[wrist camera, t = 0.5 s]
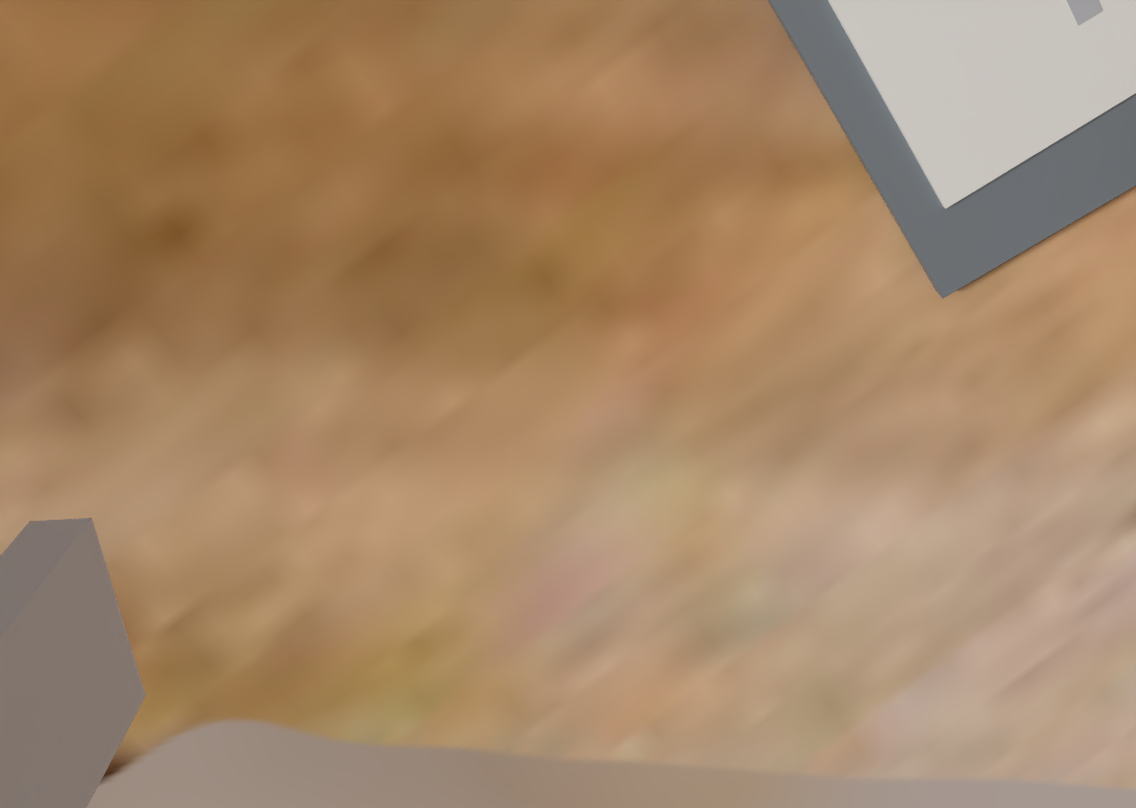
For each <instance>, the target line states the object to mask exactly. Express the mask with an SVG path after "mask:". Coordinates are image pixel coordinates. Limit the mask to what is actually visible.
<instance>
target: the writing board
mask: <svg viewBox="0 0 1136 808" xmlns="http://www.w3.org/2000/svg"><path fill="white" fill-rule="evenodd" d="M768 1H769V3H770V4H771V6H772V8H773V10H774V11H775V13H776V15H777V17H778V18H779V20H780V22H781V23H782V25H783V27H784V29H785V30H786V32H787V34H788V36H789V37H790V39H791V41H792V42H793V44H794V46H795V48H796V49H797V51H798V53H799V55H800V56H801V58H802V60H803V61H804V63H805V65H806V67H807V68H808V70H809V72H810V74H811V75H812V77H813V79H814V80H815V82H816V84H817V86H818V87H819V89H820V91H821V93H822V94H823V96H824V98H825V99H826V101H827V103H828V105H829V106H830V108H831V110H832V112H833V113H834V115H835V117H836V118H837V120H838V122H839V124H840V125H841V127H842V129H843V131H844V132H845V134H846V136H847V137H848V139H849V141H850V143H851V144H852V146H853V148H854V150H855V151H856V153H857V155H858V156H859V158H860V160H861V162H862V163H863V165H864V167H865V169H866V170H867V172H868V174H869V175H870V177H871V179H872V181H873V182H874V184H875V186H876V187H877V189H878V191H879V193H880V194H881V196H882V198H883V200H884V201H885V203H886V205H887V206H888V208H889V210H890V212H891V213H892V215H893V217H894V219H895V220H896V222H897V224H898V225H899V227H900V229H901V231H902V232H903V234H904V236H905V238H906V239H907V241H908V243H909V244H910V246H911V248H912V250H913V251H914V253H915V255H916V257H917V258H918V260H919V262H920V263H921V265H922V267H923V269H924V270H925V272H926V274H927V276H928V277H929V279H930V281H931V282H932V284H933V286H934V288H935V289H936V291H937V292H938V293H939V295H940V296H941V297H942V298H944V297H946V296H948V295H950V294H951V293H953V292H955V291H956V290H958V289H960V288H962V287H963V286H965V285H967V284H968V283H970V282H972V281H973V280H975V279H977V278H979V277H980V276H982V275H984V274H985V273H987V272H989V271H991V270H992V269H994V268H996V267H997V266H999V265H1001V264H1003V263H1004V262H1006V261H1008V260H1009V259H1011V258H1013V257H1014V256H1016V255H1018V254H1020V253H1021V252H1023V251H1025V250H1026V249H1028V248H1030V247H1032V246H1033V245H1035V244H1037V243H1038V242H1040V241H1042V240H1044V239H1045V238H1047V237H1049V236H1050V235H1052V234H1054V233H1055V232H1057V231H1059V230H1061V229H1062V228H1064V227H1066V226H1067V225H1069V224H1071V223H1073V222H1074V221H1076V220H1078V219H1079V218H1081V217H1083V216H1085V215H1086V214H1088V213H1090V212H1091V211H1093V210H1095V209H1096V208H1098V207H1100V206H1102V205H1103V204H1105V203H1107V202H1108V201H1110V200H1112V199H1114V198H1115V197H1117V196H1119V195H1120V194H1122V193H1124V192H1125V191H1127V190H1129V189H1131V188H1132V187H1134V186H1136V0H768Z"/></svg>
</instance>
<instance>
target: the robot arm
mask: <svg viewBox="0 0 1136 808" xmlns="http://www.w3.org/2000/svg"><path fill="white" fill-rule="evenodd" d="M145 696H146V695H145V692H144V688H143V685H142V682H141V678H140V675H139V672H138V669H137V665H136V662H135V659H134V655H133V652H132V649H131V646H130V642H129V639H128V636H127V632H126V629H125V626H124V623H123V619H122V616H121V613H120V609H119V606H118V603H117V600H116V596H115V593H114V590H113V586H112V583H111V580H110V577H109V573H108V570H107V567H106V563H105V560H104V557H103V554H102V550H101V547H100V544H99V540H98V537H97V534H96V531H95V527H94V524H93V521H92V518H84V519H65V520H47V521H30V522H29V523H28V524H27V525H26V527H25V528H24V529H23V530H22V531H21V532H20V534H19V535H18V536H17V537H16V538H15V539H14V541H13V542H12V543H11V544H10V545H9V547H8V548H7V549H6V550H5V551H4V552H3V554H2V555H1V556H0V808H86V807H87V806H88V804H89V802H90V800H91V798H92V796H93V794H94V793H95V790H96V789H97V787H98V785H99V783H100V781H101V779H102V777H103V775H104V774H105V772H106V770H107V768H108V766H109V764H110V762H111V760H112V758H113V756H114V755H115V753H116V751H117V749H118V747H119V745H120V743H121V741H122V739H123V738H124V736H125V734H126V732H127V730H128V728H129V726H130V724H131V722H132V720H133V719H134V717H135V715H136V713H137V711H138V709H139V707H140V705H141V703H142V702H143V700H144V698H145Z"/></svg>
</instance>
